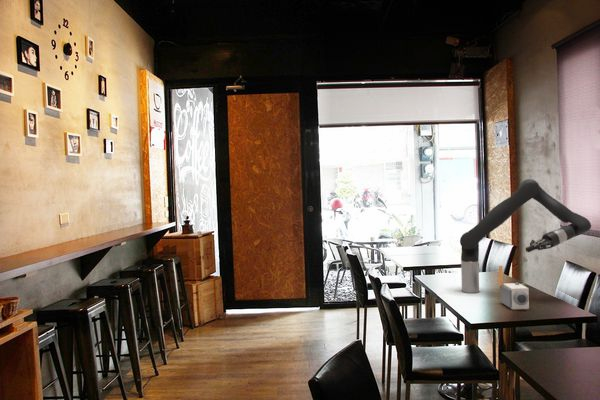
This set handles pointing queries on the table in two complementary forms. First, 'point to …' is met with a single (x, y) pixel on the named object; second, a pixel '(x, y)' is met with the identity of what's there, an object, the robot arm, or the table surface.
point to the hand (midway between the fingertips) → (526, 250)
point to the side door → (504, 291)
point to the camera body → (518, 295)
